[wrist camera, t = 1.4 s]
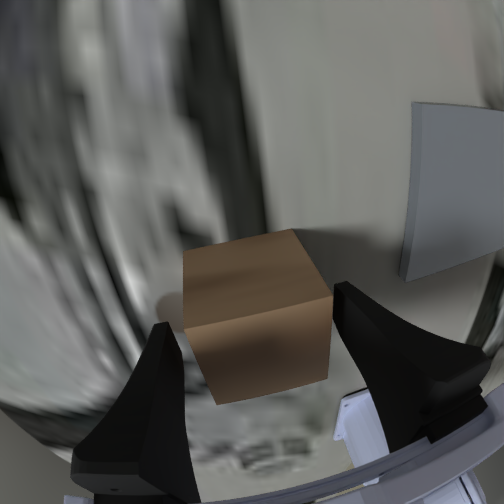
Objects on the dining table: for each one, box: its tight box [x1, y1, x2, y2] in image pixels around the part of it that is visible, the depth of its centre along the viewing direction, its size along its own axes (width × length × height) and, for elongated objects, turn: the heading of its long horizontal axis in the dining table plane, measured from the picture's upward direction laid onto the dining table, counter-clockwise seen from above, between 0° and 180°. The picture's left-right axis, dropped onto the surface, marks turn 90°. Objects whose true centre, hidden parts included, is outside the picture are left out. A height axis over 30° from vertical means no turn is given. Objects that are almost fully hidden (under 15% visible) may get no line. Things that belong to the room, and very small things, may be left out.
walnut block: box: [183, 229, 333, 405], centre depth 13 cm, size 5×5×5 cm
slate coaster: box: [399, 102, 504, 283], centre depth 15 cm, size 10×10×1 cm
